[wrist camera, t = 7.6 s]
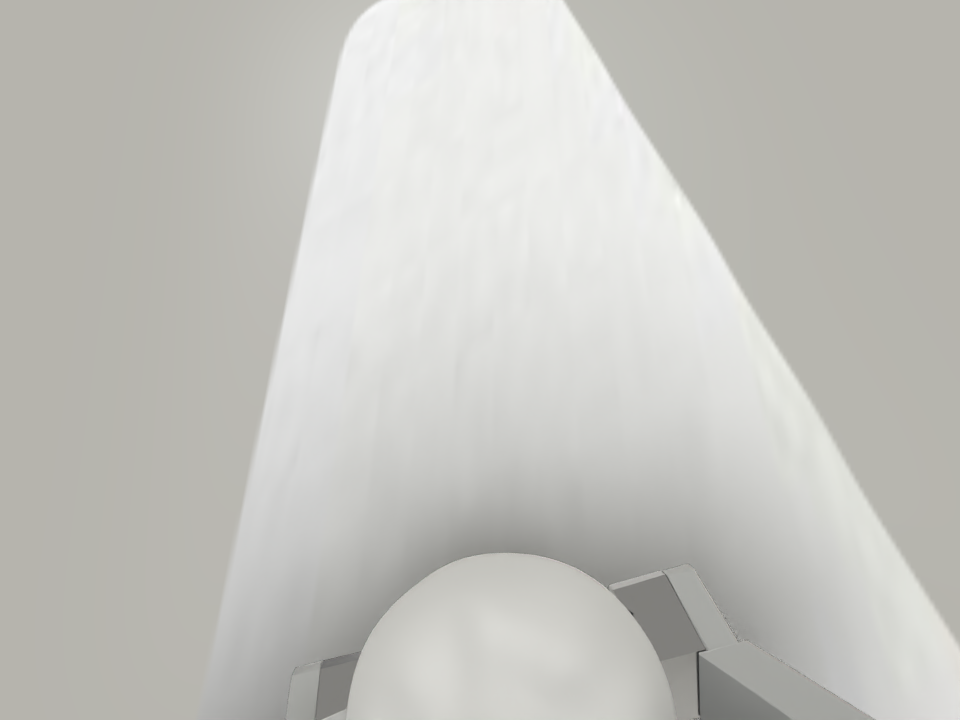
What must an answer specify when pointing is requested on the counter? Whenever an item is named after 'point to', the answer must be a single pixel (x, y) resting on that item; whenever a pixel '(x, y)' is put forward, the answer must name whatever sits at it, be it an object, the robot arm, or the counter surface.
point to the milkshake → (508, 649)
